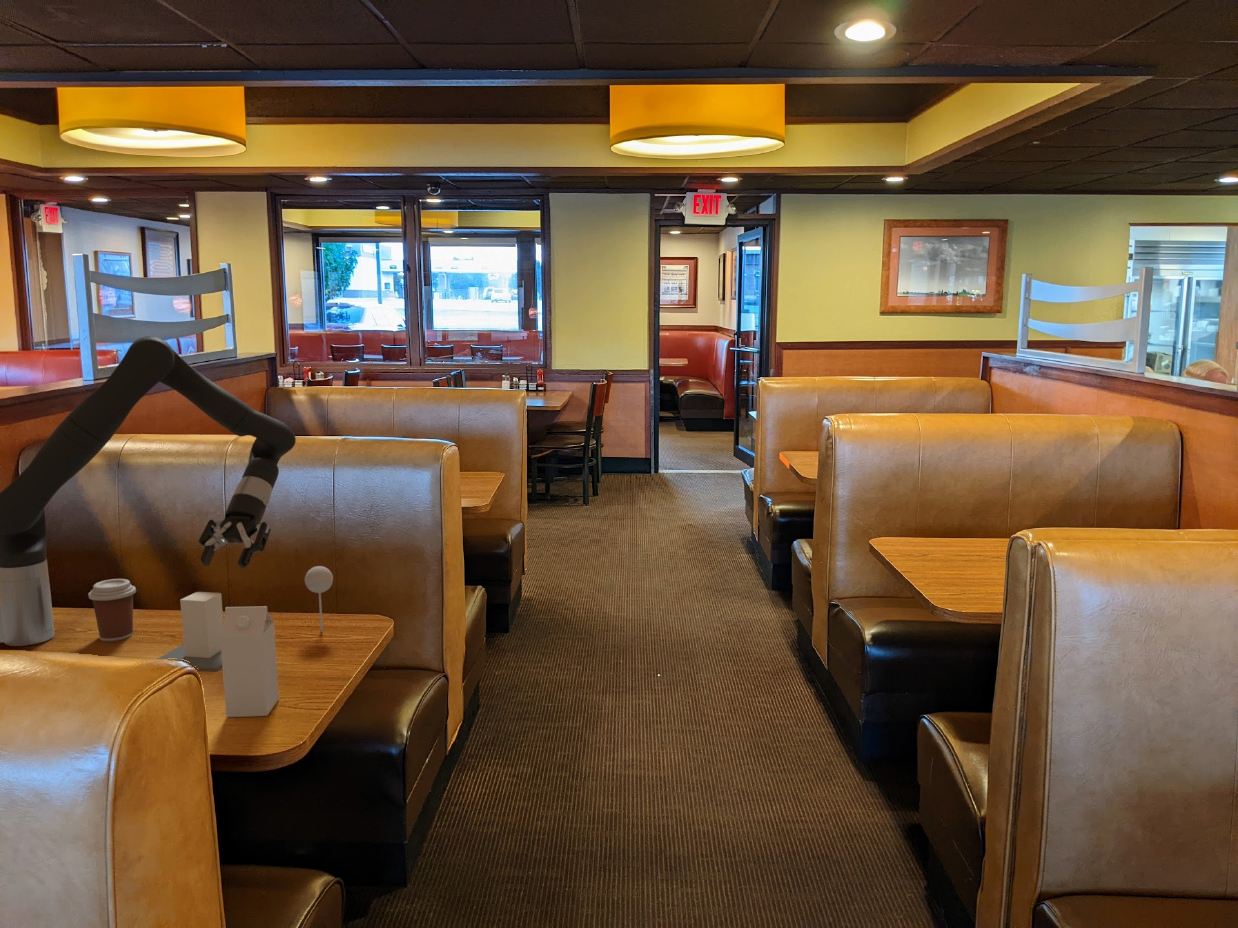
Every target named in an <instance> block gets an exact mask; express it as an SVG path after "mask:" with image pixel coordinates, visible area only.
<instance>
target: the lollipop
mask: <svg viewBox="0 0 1238 928" xmlns="http://www.w3.org/2000/svg"><path fill="white" fill-rule="evenodd" d="M333 581H334V576H333V573H332V572H331V570H330V569H329V568H327V567H325V566H323V565H322V566H321V565H318V566H317V565H316V566H313V567H311V568H310V569H309V570H308V571H307V572H306V575H305V577H304V584H305V587H306V588H307V589H308V590H309V591H310V592H312V593H316V594H318V604H319V605H318V606H319V607H318V608H319V622H320V623H319V624H320V625H319V627H320V633H324V629H323V628H324V627H323V611H322V608H323V607H322V594H323V593H324V592H327V591H328V590H329V589H331V586H332V585H333Z"/></svg>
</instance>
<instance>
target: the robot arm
mask: <svg viewBox="0 0 1238 928" xmlns="http://www.w3.org/2000/svg"><path fill="white" fill-rule="evenodd" d="M159 382H160V383H161V384H163V385H165V386H167V387H169V388H170V389H173V390H174V391H176V392H177V393H179V394H181V395H182V396H183V397H184V398H185V399H187V400H188V401H190V402H191V403H192V404H193V405H194V406H196V407H197V408H198V409H199V410H200V411H202V412H203V413H204V414H205V415H206V416H208V417H209V418H210V419H212V420H213V421H215V422H216V423H217V424H219V425H220V426H222V427H223V428H225V429H226V430H227V431H230V432H231V433H232V434H234V435H236V436H238V437H246V436H251V437H253V438H255V439H254V442H253V443H252V446H251V449H250V453H249V457H248V463H247V466H246V468H245V469H244V472H243V473H242V475H241V476H242V477H241V479H240V481H239V482H238V483H237V486H236V487H235V490H234V492H233V495H232V497H231V499H230V501H229V504H228V506H227V508H226V510H225V514H224V518H223V520H222V521H221V522H218V521H217V522H216V521H214V519H210V520H208V522H207V523H206V526H205V528H204V530H203V531H202V533H201V535H200V537H199V539H198V543H199V544H200V545H201V546H202V547H203V548H204V549H203V551H202V553H201V556H200V558H199V559H200V562H201V564H202V565H204V567H209V566H210V564H211V562H212V560H213V557H214V555H215V553H216V551H217V550H218V548H220V547H223V546H225V545H226V544H228V543H230V544H231V543H237V544H243V543H244V547H245V548H243V549H242V552H241V554H240V557H239V559H238V561H237V565H238V566H239V567H240V568H241V569H246V567H247V566H248V565H250V563H251V560H252V558H253V555H254V554H255V553H256V552H264V550H265V549H266V546H267V543H268V540H269V536H270V533H271V530H272V529H271V527H270V526H269V525H268V524H267V522H265V521H262V519H263V517H264V515H265V513H266V510H267V508H268V505H269V503H270V499H271V498H272V492H273V489H274V487H275V484H276V482H277V480H278V476H279V471H280V470H279V467H278V464H279V461H280V459H281V458H282V457H283V456H285V454H287V453H289V452H290V451H291V450H292V449H293V448H294V447H295V445H296V442H297V440H296V439H297V438H296V435H295V433H294V431H293V430H292V428H290V426H289V425H287V424H286V423H285V422H283V421H282V420H279V419H276V418H274V417H272V416H269V415H268V414H265V413H262V412H259V411H256V410H255V409H253V407H251V406H249V405H248V404H246V403H245V402H243V400H241V399H239V398H238V397H236V396H235V395H233V394H232V393H231V392H229V391H227V390H226V389H224V388H222V387H221V386H219V385H218V384H216V383H215V382H213V381H212V380H210V379H209V378H207V377H206V376H204V375H203V374H202V373H200V372H199V371H197V369H195V368H193V366H191V365H190V364H189V363H188V362H186V361H185V360H184V358H182V357H181V356H180V355H179V354H178V353H177V352H176V351H175V350H174V349H173V348H172V347H171V345H170V344H169V342H167V341H165V340H164V339H163V338H160V337H157V336H153V335H152V336H150V335H149V336H143V337H140V338H138V339H136V340H134V342H132V343H131V345H130V346H129V348H128V349H127V351H126V353H125V355H124V356H123V358H122V359H121V361H120V362H119V363H118V365H117V366H116V367H115V369H114V370H113V371H112V373H111V374H110V376H109V377H107V379H106V380H105V381H104V382H103V384H101V385H100V386H99V387H98V388H97V389H96V390H94V391H93V392H92V393H90V394H89V395H87V397H86V398H84V399H83V400H82V401H81V402H80V403H79V404H77V406H76V407H75V408H73V410H71V411H70V412H69V413H68V415H67V416H66V417H65V418H64V419H63V420H62V421H61V422H60V423H59V424H58V426H57V427H56V428H55V429H54V431H53V432H52V433H51V434H50V436H49V437H48V438H47V439H46V441H45V442H44V443H43V444H42V446H41V447H40V449H39V450H38V451H37V453H36V455H35V456H34V457H33V458H32V460H31V462H30V463H29V464H28V466H27V467H26V468H25V469H24V470H23V471H22V472H21V473H20V474H19V475H18V476H17V477H16V478H15V479H14V480H13V481H12V482H11V483H10V484H8V486H6V487H5V488H4V489H3V490H1V491H0V643H3V644H4V645H6V646H10V647H24V646H30V645H31V646H32V645H36V644H40V643H43V642H46V641H49V640H51V639H53V638H54V637H55V635H56V634H55V626H54V625H55V624H54V614H53V606H52V605H53V604H52V595H51V586H50V577H49V567H48V559H47V547H48V546H47V544H48V537H47V536H48V535H47V523H46V511H45V507H46V506H47V505H48V503H49V502H50V501H51V499H52V498H54V496H55V494H56V493H57V492H58V491H59V490H60V489H61V488H62V486H64V485H65V484H66V483H68V481H69V480H70V479H72V478H73V477H74V476H75V475H77V473H79V472H80V471H81V470H82V469H83V468H84V467H85V466H87V465H88V464H89V463H90V462H91V461H92V460H93V459H94V458H95V457H96V456H97V455H98V453H100V451H101V450H102V449H103V448H104V447H106V445H107V443H108V442H109V441H110V440H111V439H112V437H113V436H114V435H115V434H116V433H117V431H118V430H119V429H120V427H122V424H123V423H124V421H125V420H126V418H127V417H128V415H129V414H130V413H131V411H132V410H133V408H134V407H135V405H137V403H138V402H139V401H140V400H141V399H142V398H143V397H144V396H146V394H148V392H150V391H151V390H152V389H153V388H154V387H155V386H156V385H158V383H159ZM255 534H256V537H255V540H253V537H252V536H253V535H255ZM221 537H222V539H221Z"/></svg>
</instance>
